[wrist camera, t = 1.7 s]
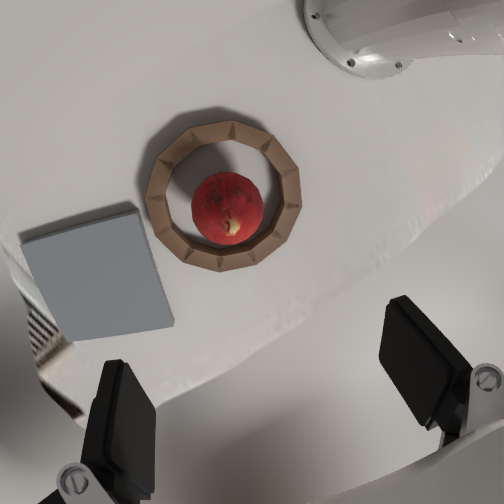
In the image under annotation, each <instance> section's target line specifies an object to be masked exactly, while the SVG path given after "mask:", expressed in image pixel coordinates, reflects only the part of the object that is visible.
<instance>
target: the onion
mask: <svg viewBox="0 0 504 504" xmlns="http://www.w3.org/2000/svg"><path fill="white" fill-rule="evenodd" d="M191 209H192V218H193V222H194V223H195V225H196V227H197V229H198V230H199V232H200V233H201V234H202V235H203V236H204V237H206V238H207V239H208V240H209V241H210V242H213V243H217V244H221V245H231V244H237V243H239V242H242V241H244V240H246V239H248V238H249V237H250V236H251V235H252V234H253V233H254V232H255V231H256V230H257V228H258V226H259V224H260V222H261V220H262V218H263V201H262V198H261V195H260V193H259V190H258V188H257V187H256V186H255V185H254V184H253V183H252V181H251V180H250V179H248V178H246V177H244V176H241V175H239V174H237V173H233V172H219V173H217V174H214V175H212V176H209V177H207V178H206V179H205V180H204V181H203V182H202V183H201V184H200V186H199V187H198V188H197V189H196V190H195V193H194V196H193V200H192V203H191Z"/></svg>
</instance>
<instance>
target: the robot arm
mask: <svg viewBox="0 0 504 504" xmlns="http://www.w3.org/2000/svg"><path fill="white" fill-rule="evenodd" d="M303 12H304V20H305V23H306V26H307V29H308V32H309V34H310V36H311V37H312V39H313V41H314V43H315V44H316V45H317V47H318V48H319V49H320V51H321V52H322V53H323V54H324V55H325V56H326V57H327V58H328V59H329V60H330V61H331V62H332V63H334V64H335V65H337V66H338V67H339V68H341V69H343V70H345V71H347V72H348V73H350V74H352V75H356V76H359V77H362V78H368V79H384V78H390V77H394V76H396V75H398V74H400V73H402V72H403V71H404V70H406V69H407V68H408V67H409V65H410V64H411V63H412V62H413V60H414V59H420V58H430V57H442V56H457V55H504V0H304V6H303ZM311 16H313V17H314V18H315V19H313V18H312V17H311ZM347 62H348V63H349V66H348V64H347ZM379 360H380V363H381V365H382V366H383V368H384V369H385V371H386V372H387V374H388V375H389V377H390V378H391V380H392V382H393V383H394V385H395V386H396V388H397V389H398V391H399V393H400V394H401V396H402V397H403V399H404V400H405V402H406V404H407V405H408V407H409V408H410V410H411V412H412V413H413V415H414V416H415V418H416V420H417V421H418V423H419V424H420V425H421V426H425V428H426V429H427V431H429V430H431V429H433V428H435V427H436V426H438V425H439V427H440V428H441V430H442V433H441V438H440V444H439V448H438V450H437V451H436V452H434V453H432V454H430V455H428V456H426V457H424V458H422V459H420V460H418V461H416V462H414V463H412V464H410V465H408V466H406V467H404V468H402V469H400V470H397V471H395V472H393V473H391V474H389V475H386V476H384V477H382V478H379V479H377V480H374V481H372V482H369V483H367V484H364V485H362V486H359V487H356V488H354V489H351V490H348V491H345V492H342V493H339V494H336V495H333V496H330V497H327V498H323V499H320V500H317V501H313V502H309V503H306V504H504V374H503V372H502V371H501V370H500V369H499V368H498V367H497V366H495V365H493V364H488V363H486V364H485V363H484V364H480V365H478V366H476V367H475V368H474V369H473V368H472V367H471V365H470V364H469V363H468V361H467V360H466V359H465V358H464V357H463V356H462V355H461V353H460V352H459V351H458V350H457V349H456V348H455V347H454V346H453V345H452V343H451V342H450V341H449V340H448V339H447V338H446V337H445V336H444V335H443V333H442V332H441V331H439V329H438V328H437V327H436V326H435V325H434V324H433V323H432V322H431V321H430V320H429V318H428V317H427V316H426V315H425V314H424V313H423V312H422V311H421V310H420V309H419V308H418V307H417V306H416V305H415V304H414V303H413V302H412V301H411V300H410V299H409V298H408V297H407V296H406V295H403V296H400V297H397V298H394V299H391V300H390V302H389V304H388V305H387V306H386V312H385V319H384V326H383V332H382V339H381V345H380V350H379ZM155 427H156V411H155V408H154V406H153V404H152V403H151V401H150V400H149V398H148V396H147V395H146V393H145V391H144V390H143V388H142V387H141V385H140V383H139V382H138V380H137V378H136V376H135V375H134V373H133V371H132V369H131V368H130V366H129V364H128V363H124V362H123V361H122V360H121V359H117V360H109V361H106V362H105V363H104V367H103V370H102V374H101V378H100V382H99V387H98V391H97V395H96V398H94V399H93V402H92V405H91V409H90V414H89V418H88V423H87V428H86V433H85V439H84V444H83V449H82V455H81V461H80V463H77V462H74V463H69V464H67V465H65V466H64V467H63V468H62V469H61V470H60V472H59V473H58V476H57V487H58V489H57V490H55V491H54V492H53V493H51V494H50V495H49V496H48V497H46V498H45V499H43V500H42V501H41V502H40V503H38V504H140V500H151V495H150V494H151V493H154V490H155V483H154V482H155V472H154V470H155Z"/></svg>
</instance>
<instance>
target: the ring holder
mask: <svg viewBox="0 0 504 504" xmlns="http://www.w3.org/2000/svg"><path fill="white" fill-rule="evenodd" d="M226 140H234V141H237V142H240V143H242V144H245V145H248V146H250V147H253V148H256V149H259V150H260V151H261V152H262V153H263V155H264V156H265V157H266V158H267V160H268V161H269V162H270V163H271V165H272V166H273V167H274V168H275V170H276V171H277V174H278V182H279V190H280V199H281V201H280V203H279V205H278V208H277V210H276V212H275V215H274V217H273V219H272V222H271V224H270V226H269V227H268V228H267V229H265V230H264V231H263V232H262V233H260V234H259V235H258V236H257V237H255V238H254V239H253V240H252V241H250V242H249V243H248V244H244V245H239V246H234V247H229V248H225V249H220V250H219V249H216V248H212V247H209V246H205V245H202V244H198V243H195V242H192V241H191V240H190V239H189V238H188V237H187V236H186V235H185V234H184V233H183V232H182V231H181V230H180V229H179V228H178V227H177V226H176V225H175V224H174V223H173V222H172V219H171V215H170V211H169V207H168V203H167V199H166V195H165V193H166V190H167V186H168V183H169V180H170V177H171V174H172V171H173V168H174V166H176V165H177V164H178V163H179V162H180V161H181V160H182V159H183V158H185V157H186V156H187V155H188V154H189V153H190V152H192V151H193V150H194V149H195V148H196V147H197V146H200V145H205V144H210V143H215V142H221V141H226ZM145 201H146V205H147V209H148V212H149V216H150V220H151V223H152V227H153V230H154V234H155V236H156V237H157V238H158V239H159V240H160V241H161V242H162V243H163V244H164V245H165V246H166V247H167V248H168V249H169V250H170V251H171V252H172V253H173V254H174V255H175V256H176V257H177V258H178V259H180V260H181V261H182V262H183V263H187V264H190V265H194V266H198V267H201V268H205V269H209V270H212V271H216V272H224V271H229V270H233V269H238V268H243V267H248V266H253V265H256V264H258V263H259V262H261V261H262V260H263V259H265V258H266V257H267V256H268V255H270V254H271V253H272V252H274V251H275V250H276V249H277V248H279V247H280V246H281V245H282V244H284V243H285V242H286V241H287V239H288V237H289V235H290V233H291V230H292V228H293V226H294V224H295V222H296V219H297V217H298V215H299V213H300V210H301V208H302V199H301V188H300V178H299V169H298V167H297V165H296V164H295V163H294V161H293V160H292V159H291V157H290V156H289V155H288V153H287V152H286V151H285V149H284V148H283V147H282V146H281V144H280V143H279V142H278V140H277V139H276V138H275V136H274V135H271V134H269V133H266V132H263V131H261V130H258V129H256V128H253V127H250V126H248V125H245V124H242V123H240V122H237V121H234V120H228V121H222V122H217V123H211V124H206V125H201V126H196V127H191V128H189V129H188V130H187V131H186V132H185V133H183V134H182V135H181V136H180V137H179V138H178V139H177V140H175V141H174V142H173V143H172V144H171V145H170V146H169V147H168V148H166V149H165V150H164V151H163V152H162V153H161V154H160V155H159V156H158V157H157V158H156V161H155V165H154V168H153V171H152V174H151V178H150V181H149V184H148V188H147V191H146V195H145Z"/></svg>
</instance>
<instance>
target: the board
mask: <svg viewBox="0 0 504 504" xmlns="http://www.w3.org/2000/svg"><path fill="white" fill-rule="evenodd" d="M20 247H21V249H22V252H23V254H24V256H25V259H26V261H27V264H28V266H29V268H30V270H31V273H32V275H33V277H34V279H35V282H36V284H37V286H38V288H39V290H40V292H41V294H42V296H43V298H44V300H45V302H46V304H47V306H48V308H49V310H50V312H51V314H52V315H53V317H54V319H55V321H56V323H57V325H58V326H59V328H60V330H61V332H62V333H63V335H64V337H65V339H66V340H67V342H73V341H81V340H89V339H96V338H104V337H111V336H118V335H124V334H131V333H138V332H144V331H150V330H156V329H162V328H168V327H174V317H173V315H172V312H171V309H170V306H169V304H168V301H167V298H166V295H165V292H164V289H163V286H162V283H161V280H160V277H159V274H158V271H157V268H156V265H155V262H154V259H153V255H152V252H151V249H150V246H149V242H148V239H147V236H146V232H145V229H144V225H143V222H142V218H141V215H140V211H139V209H138V210H134V211H130V212H126V213H122V214H118V215H114V216H110V217H107V218H103V219H99V220H95V221H91V222H88V223H84V224H81V225H77V226H73V227H70V228H66V229H63V230H59V231H56V232H53V233H49V234H46V235H43V236H39V237H36V238H33V239H30V240H27V241H25V242H23V243H22V244H21V245H20Z"/></svg>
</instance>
